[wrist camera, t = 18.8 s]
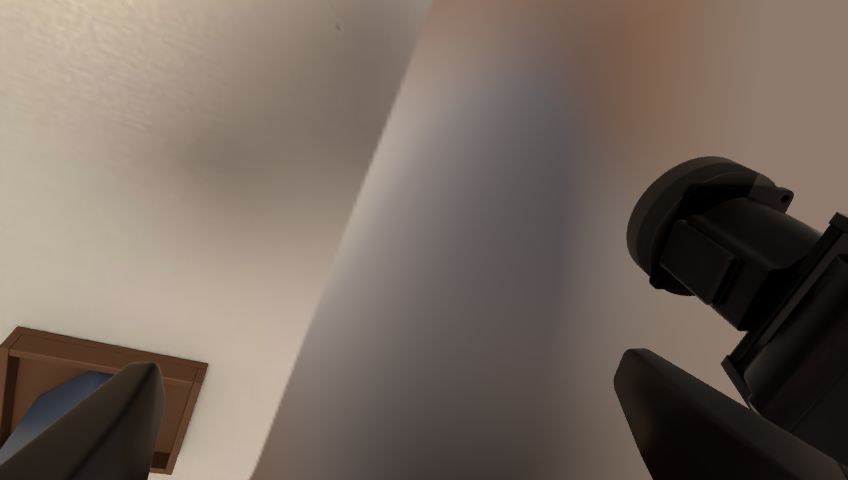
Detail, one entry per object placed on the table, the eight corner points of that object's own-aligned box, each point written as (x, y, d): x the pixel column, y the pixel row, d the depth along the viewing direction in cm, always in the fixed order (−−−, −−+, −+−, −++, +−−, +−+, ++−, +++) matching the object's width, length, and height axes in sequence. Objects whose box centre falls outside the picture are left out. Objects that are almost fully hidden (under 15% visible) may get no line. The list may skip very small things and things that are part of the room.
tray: (208, 363, 24) (201, 384, 23) (178, 453, 27) (171, 475, 26) (16, 326, 21) (-3, 347, 20) (4, 429, 24) (-13, 453, 23)
